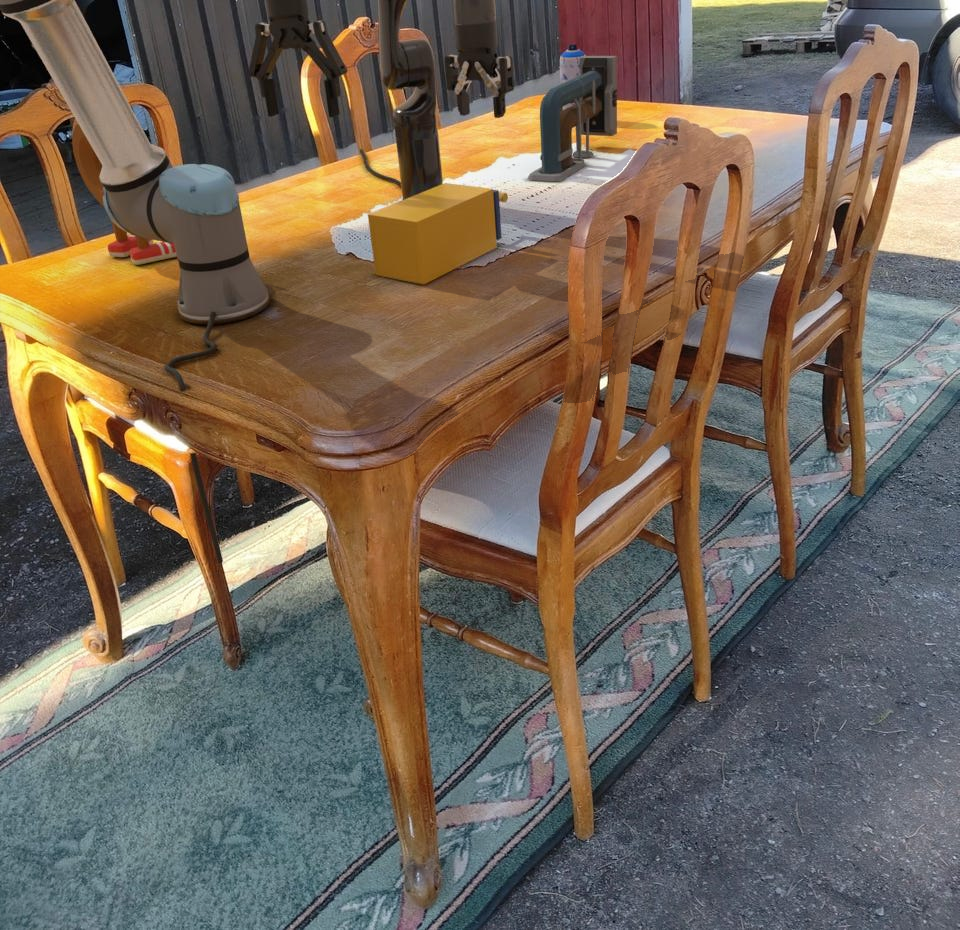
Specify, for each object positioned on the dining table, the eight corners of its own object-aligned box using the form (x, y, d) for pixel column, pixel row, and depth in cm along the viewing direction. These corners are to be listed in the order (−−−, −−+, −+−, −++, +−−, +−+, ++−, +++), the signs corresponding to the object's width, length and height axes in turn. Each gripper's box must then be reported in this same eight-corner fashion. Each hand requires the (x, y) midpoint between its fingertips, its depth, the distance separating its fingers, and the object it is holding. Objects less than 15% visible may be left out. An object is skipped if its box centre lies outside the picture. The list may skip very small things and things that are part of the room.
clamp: (559, 181, 220) (556, 82, 210) (525, 179, 224) (520, 82, 214) (617, 145, 246) (616, 55, 235) (585, 144, 250) (583, 55, 239)
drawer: (479, 222, 195) (475, 177, 190) (520, 229, 190) (517, 181, 185) (391, 263, 177) (385, 214, 172) (434, 272, 172) (428, 221, 167)
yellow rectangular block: (450, 240, 190) (445, 182, 184) (497, 247, 184) (493, 188, 178) (375, 275, 175) (367, 214, 170) (423, 284, 169) (416, 221, 164)
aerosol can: (559, 122, 275) (557, 47, 265) (562, 117, 282) (559, 42, 272) (587, 121, 274) (585, 45, 263) (589, 115, 280) (587, 41, 270)
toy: (194, 256, 192) (157, 98, 177) (148, 271, 186) (106, 109, 171) (139, 239, 206) (100, 90, 190) (95, 253, 199) (51, 100, 184)
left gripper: (355, -12, 173) (370, 111, 184) (239, -7, 182) (260, 111, 193) (334, -8, 167) (350, 120, 178) (215, -3, 176) (238, 118, 187)
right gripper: (520, 16, 169) (525, 114, 178) (456, 16, 177) (463, 109, 186) (495, 22, 164) (501, 122, 173) (430, 22, 172) (439, 118, 181)
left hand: (303, 115), depth 185 cm, fingers open, 13 cm apart
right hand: (481, 115), depth 179 cm, fingers open, 7 cm apart
